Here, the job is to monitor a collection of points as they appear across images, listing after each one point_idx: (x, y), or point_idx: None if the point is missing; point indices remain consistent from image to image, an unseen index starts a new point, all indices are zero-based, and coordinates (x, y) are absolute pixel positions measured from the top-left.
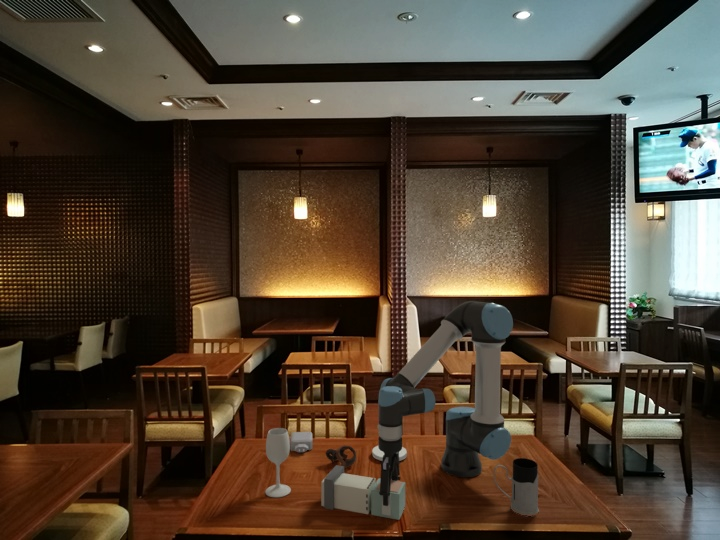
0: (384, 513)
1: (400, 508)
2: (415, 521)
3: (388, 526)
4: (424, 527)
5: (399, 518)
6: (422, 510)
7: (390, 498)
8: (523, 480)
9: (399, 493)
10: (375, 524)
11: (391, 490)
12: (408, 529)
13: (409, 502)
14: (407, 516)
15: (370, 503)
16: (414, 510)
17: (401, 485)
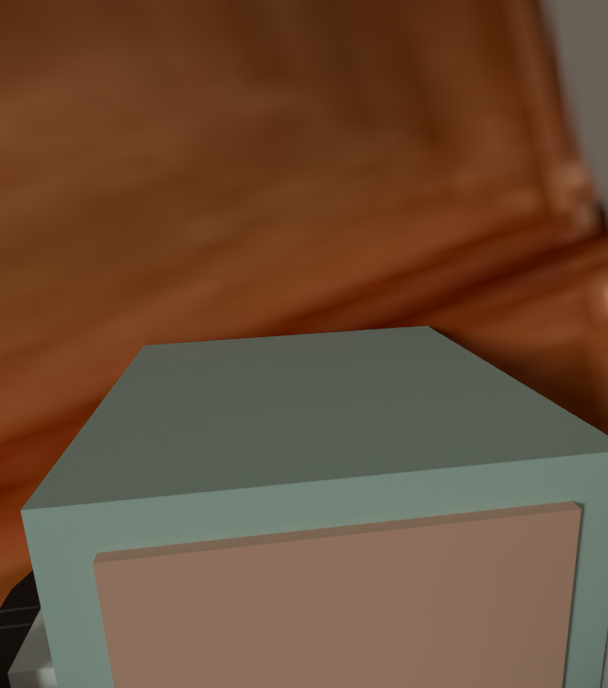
0: None
1: (406, 355)
2: (384, 151)
3: (547, 387)
4: (470, 14)
5: (421, 328)
6: (116, 124)
7: None
8: None
9: (597, 459)
10: None
11: (542, 639)
12: (550, 186)
13: (9, 329)
14: (317, 265)
15: None
16: (160, 223)
17: (218, 539)
